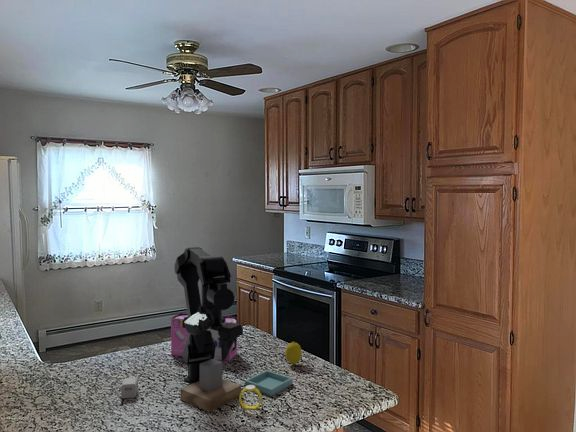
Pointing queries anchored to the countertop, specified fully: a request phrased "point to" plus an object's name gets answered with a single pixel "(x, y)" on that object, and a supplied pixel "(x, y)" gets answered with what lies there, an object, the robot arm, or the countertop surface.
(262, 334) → the countertop surface
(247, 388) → the watch
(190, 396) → the walnut dock
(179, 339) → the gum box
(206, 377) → the plug block
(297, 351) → the lemon
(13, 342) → the countertop surface
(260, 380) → the teal tray
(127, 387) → the usb wall charger
